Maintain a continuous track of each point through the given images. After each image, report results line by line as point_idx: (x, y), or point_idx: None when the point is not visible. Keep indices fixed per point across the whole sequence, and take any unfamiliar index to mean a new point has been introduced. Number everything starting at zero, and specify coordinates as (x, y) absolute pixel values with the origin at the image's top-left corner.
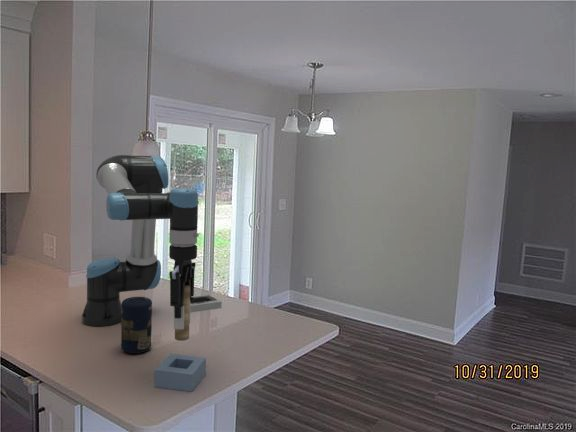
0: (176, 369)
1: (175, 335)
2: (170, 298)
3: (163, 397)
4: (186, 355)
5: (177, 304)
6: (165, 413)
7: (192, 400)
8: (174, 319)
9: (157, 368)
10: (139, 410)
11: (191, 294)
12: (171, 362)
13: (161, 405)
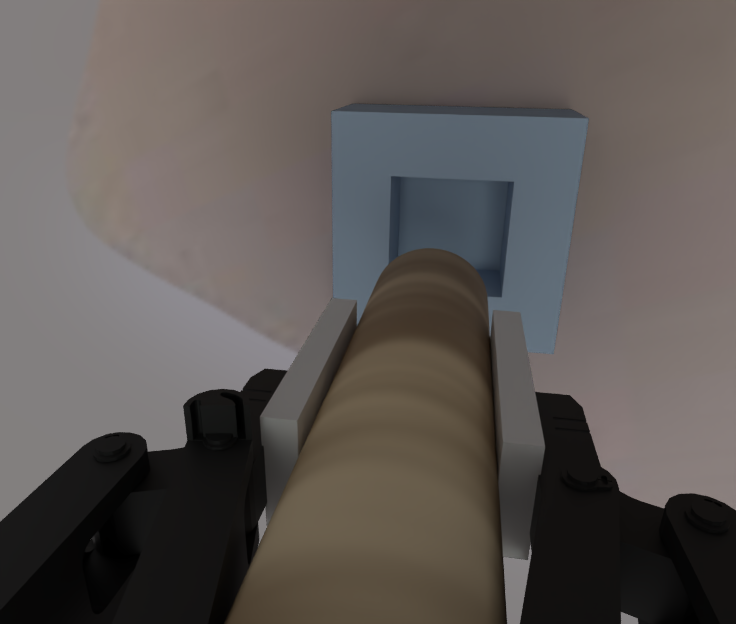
0: (366, 237)
1: (383, 275)
2: (16, 511)
3: (272, 190)
4: (569, 233)
5: (93, 540)
6: (163, 246)
7: (285, 320)
8: (308, 341)
9: (351, 121)
10: (145, 129)
11: (640, 617)
12: (450, 175)
13: (210, 207)
